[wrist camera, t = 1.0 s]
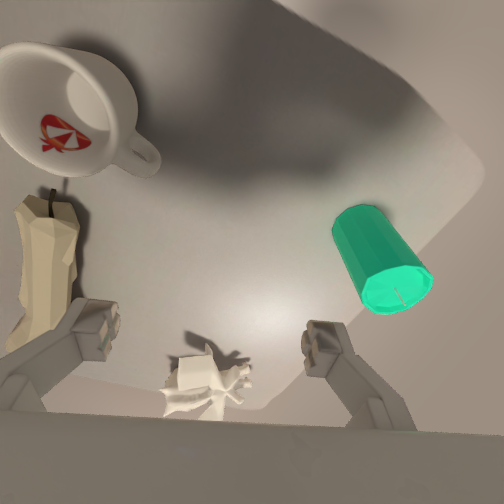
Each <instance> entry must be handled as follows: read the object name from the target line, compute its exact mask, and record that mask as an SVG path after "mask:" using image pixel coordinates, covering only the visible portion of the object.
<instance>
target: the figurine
mask: <svg viewBox="0 0 504 504" xmlns="http://www.w3.org/2000/svg"><path fill="white" fill-rule="evenodd" d="M248 373H250V367H249V365H248V364H247V363H246V362H243V366H240V367H237V365H234V366H233V367H232V368H231V369H229V370H224V371H219V370H218V368H217V366H216V364H215V362H214V360H213V352H212V350H211V349H210V347H209V345H208V344H207V343H206V342H205V356H193V357H184V358H179V365H178V368H176V369H174V371H173V373H172V374H171V375H170V376H169V377H168V380H166V381H165V387H164V388H161V389H159V390H160V391H161V392H162V393H164V394H165V400H166V407H165V411H164V416H166V415H168V414H170V413H172V412H174V411H176V410H180V411H190V410H193V409H194V408H196V407H199V406H201V405H204V404H206V403H208V404H209V405H210V406H209V408H208V409H207V410H206V411H205V412H204V413H203V414H202V415H201V416H200V417H199V419H197V420H209V421H223V417H224V407H225V398H226V397H227V396H228V397H229V398H231V399H232V400H233V401H234V402H236V403H237V404H242V403H243V401H244V398H243V397H242V396H241V395H240V394H239V393H237V392H236V390H237V389H239V388H243V387H248V388H252V381H251V380H250V379H248V378H247V377H245V379H239V378H240V377H241V375H244V374H248ZM164 416H163V417H164Z"/></svg>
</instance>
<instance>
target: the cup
mask: <svg viewBox="0 0 504 504" xmlns="http://www.w3.org/2000/svg"><path fill="white" fill-rule="evenodd" d="M137 117H138V103H137V99H136V95H135V92H134V90H133V88H132V86H131V84H130V82H129V80H128V79H127V78H126V76H125V75H124V74H123V73H122V72H121V70H120V69H118V68H117V67H116V66H115V65H114V64H113V63H111V62H110V61H108V60H107V59H105V58H103V57H101V56H99V55H96V54H93V53H90V52H86V51H81V50H75V49H70V48H65V47H60V46H55V45H50V44H45V43H39V42H29V41H27V42H16V43H12V44H9V45H6V46H4V47H2V48H1V49H0V134H1V136H2V137H3V138H4V139H5V141H6V142H7V143H8V144H9V145H10V146H11V147H12V148H13V149H14V150H15V151H16V152H17V153H18V154H19V155H21V156H22V157H23V158H24V159H26V160H27V161H29V162H30V163H32V164H33V165H35V166H37V167H39V168H41V169H43V170H45V171H47V172H50V173H53V174H56V175H59V176H64V177H73V178H79V177H87V176H91V175H94V174H96V173H98V172H100V171H102V170H103V169H105V168H106V167H107V166H108V165H110V164H115V165H117V166H119V167H121V168H122V169H124V170H125V171H127V172H129V173H130V174H132V175H134V176H137V177H140V178H150V177H152V176H153V175H154V174H155V173H156V172H157V171H158V170H159V168H160V166H161V155H160V153H159V152H158V150H157V149H156V148H155V147H154V146H153V145H152V144H151V143H150V142H149V141H148V140H146V139H145V138H144V137H142V136H141V135H140V134H139V133H138V132H137V131H136V129H135V125H136V122H137ZM131 149H132V150H135V151H137V152H138V153H140V154H141V155H143V156H144V157H145V158H146V160H147V161H148V162H147V161H144V160H142V159H141V158H139V157H138V156H137V155H136V154H135V153H134V152H133V151H132V150H131Z"/></svg>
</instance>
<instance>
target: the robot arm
mask: <svg viewBox="0 0 504 504" xmlns="http://www.w3.org/2000/svg"><path fill="white" fill-rule="evenodd" d="M117 310H118V303H117V302H114V301H106V300H97V299H88V298H79V297H77V298H76V299H75V300H73V302H72V303H71V305H70V306H69V308H68V309H67V311H66V313H65V314H64V316H63V317H62V319H61V320H60V322H59V323H58V325H57V326H56V328H55V329H54V330H48V331H47V332H45V333H43V334H42V335H40V336H38V337H37V338H35V339H33V340H32V341H30V342H28V343H26V344H25V345H23V346H21V347H20V348H18V349H16V350H15V351H13V352H11V353H10V354H8V355H6V356H5V357H3V358H1V359H0V504H504V436H500V435H482V434H461V433H442V432H423V431H417V429H416V426H415V424H414V422H413V420H412V417H411V415H410V413H409V411H408V408H407V406H406V404H405V402H404V399H403V398H402V397H401V396H400V395H399V394H398V393H397V392H396V391H395V390H394V389H393V388H392V387H391V386H390V385H389V384H388V383H387V382H386V381H385V380H384V379H382V377H380V376H379V375H378V374H377V373H376V372H375V371H374V370H373V369H372V368H371V367H370V366H369V365H368V364H367V363H366V362H365V361H364V360H363V359H362V358H361V357H360V356H359V355H355V352H354V350H353V347H352V344H351V342H350V339H349V336H348V333H347V330H346V328H345V325H344V324H343V323H339V322H329V321H317V320H309V321H308V323H307V325H306V326H307V330H306V331H304V332H303V335H302V339H301V349H302V353H303V354H304V355H305V357H306V359H305V361H304V365H305V370H306V375H307V376H311V377H320V378H325V379H326V381H327V382H328V384H329V385H330V386H331V388H332V389H333V390H334V392H335V393H336V394H337V396H338V397H339V398H340V400H341V401H342V403H343V404H344V405H345V407H346V408H347V410H348V411H349V412H350V414H351V415H352V416H353V417H352V418H351V420H350V421H349V422H348V424H347V425H346V426H345V427H325V426H305V425H285V424H266V423H248V422H228V421H209V420H189V419H169V418H148V417H130V416H111V415H90V414H70V413H51V412H47V411H46V408H45V407H44V405H43V403H42V401H41V399H40V398H41V397H43V396H44V395H45V394H46V393H47V392H48V391H50V390H51V389H52V388H53V387H54V386H55V385H57V384H58V383H59V382H60V381H61V380H62V379H63V378H65V377H66V376H67V375H68V374H69V373H70V372H72V371H73V370H74V369H75V368H76V367H77V366H79V365H80V364H81V363H82V362H83V361H103V362H105V361H106V359H107V357H108V355H109V352H110V350H111V348H112V346H111V341H112V340H113V339H115V338H116V336H117V334H118V331H119V327H120V315H119V314H118V313H117Z"/></svg>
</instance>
